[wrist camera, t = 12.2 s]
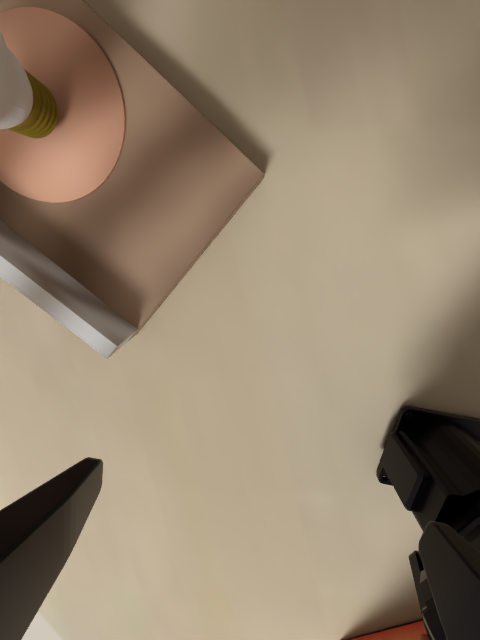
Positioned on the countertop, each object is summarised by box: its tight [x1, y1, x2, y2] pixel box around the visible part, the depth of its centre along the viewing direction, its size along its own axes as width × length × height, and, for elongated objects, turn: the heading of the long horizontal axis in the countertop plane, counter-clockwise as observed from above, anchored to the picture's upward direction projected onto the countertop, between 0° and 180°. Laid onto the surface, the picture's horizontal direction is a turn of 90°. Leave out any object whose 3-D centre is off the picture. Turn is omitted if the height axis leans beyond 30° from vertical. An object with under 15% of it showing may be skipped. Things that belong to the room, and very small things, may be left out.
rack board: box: [0, 0, 264, 358], centre depth 16 cm, size 22×13×4 cm, turn 49°
